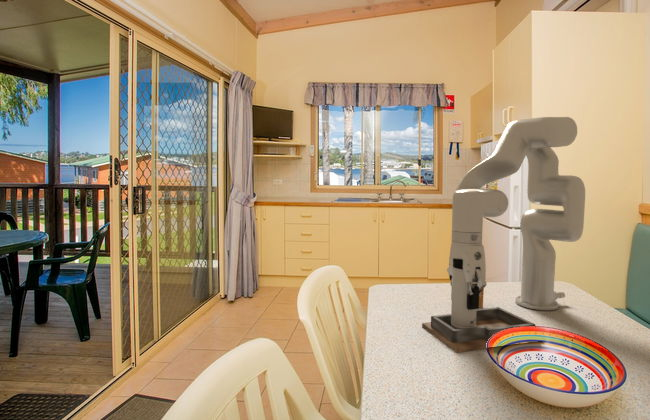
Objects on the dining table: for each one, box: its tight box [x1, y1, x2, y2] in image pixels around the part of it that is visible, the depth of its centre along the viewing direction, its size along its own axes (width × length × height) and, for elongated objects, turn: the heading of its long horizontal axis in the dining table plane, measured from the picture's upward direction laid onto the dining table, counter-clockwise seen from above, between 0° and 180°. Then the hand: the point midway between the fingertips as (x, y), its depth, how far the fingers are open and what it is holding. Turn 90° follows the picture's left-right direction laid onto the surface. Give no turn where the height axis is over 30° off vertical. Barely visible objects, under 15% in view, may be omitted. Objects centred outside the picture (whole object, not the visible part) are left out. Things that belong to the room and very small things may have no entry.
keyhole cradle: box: [421, 306, 536, 353], centre depth 107 cm, size 25×17×4 cm
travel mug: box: [450, 258, 477, 329], centre depth 105 cm, size 6×7×20 cm
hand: (464, 304), depth 105 cm, fingers closed on travel mug, 6 cm apart
